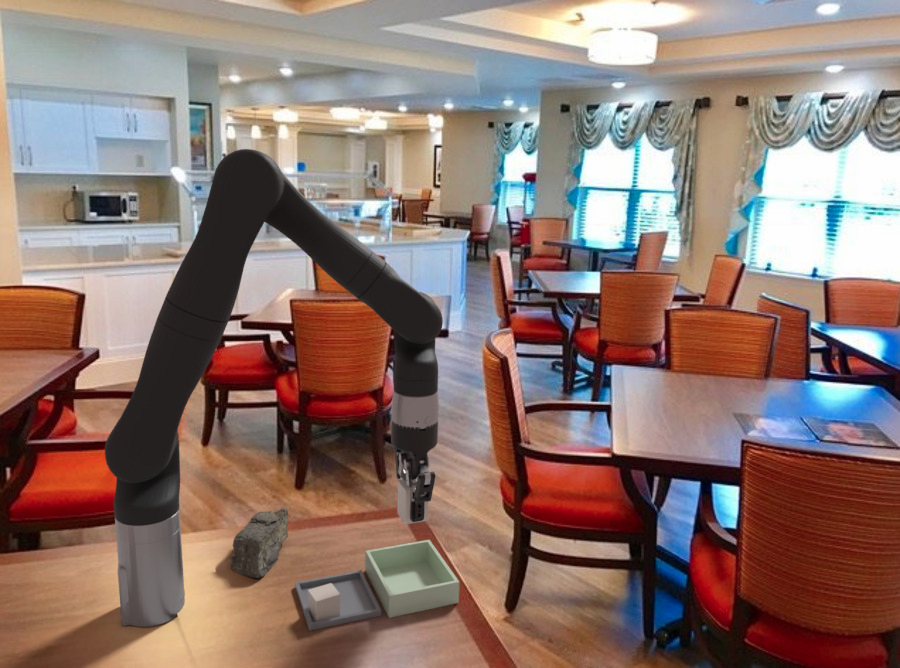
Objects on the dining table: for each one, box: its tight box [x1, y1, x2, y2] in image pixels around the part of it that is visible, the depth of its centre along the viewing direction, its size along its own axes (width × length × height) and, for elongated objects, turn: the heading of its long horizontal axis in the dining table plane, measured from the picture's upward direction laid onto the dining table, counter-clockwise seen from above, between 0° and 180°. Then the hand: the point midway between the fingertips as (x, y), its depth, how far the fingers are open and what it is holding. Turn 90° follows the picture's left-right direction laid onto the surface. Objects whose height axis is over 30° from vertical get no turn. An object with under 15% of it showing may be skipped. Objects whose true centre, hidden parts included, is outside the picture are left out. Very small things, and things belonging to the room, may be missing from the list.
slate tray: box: [294, 569, 382, 632], centre depth 116 cm, size 12×12×2 cm
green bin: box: [364, 539, 460, 619], centre depth 121 cm, size 12×14×4 cm
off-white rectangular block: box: [396, 479, 430, 525], centre depth 117 cm, size 4×4×6 cm
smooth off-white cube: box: [308, 583, 340, 622], centre depth 112 cm, size 4×4×4 cm
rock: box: [228, 507, 289, 579], centre depth 128 cm, size 17×7×10 cm
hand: (412, 513), depth 118 cm, fingers closed on off-white rectangular block, 4 cm apart
